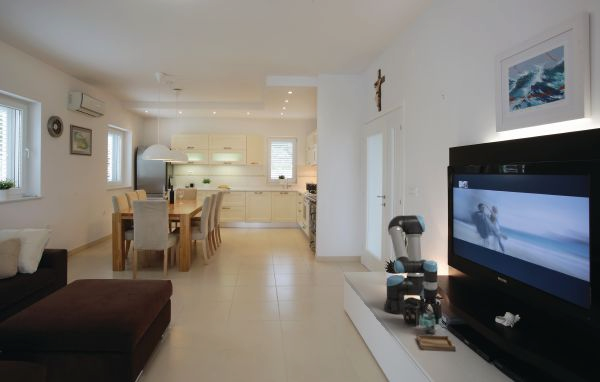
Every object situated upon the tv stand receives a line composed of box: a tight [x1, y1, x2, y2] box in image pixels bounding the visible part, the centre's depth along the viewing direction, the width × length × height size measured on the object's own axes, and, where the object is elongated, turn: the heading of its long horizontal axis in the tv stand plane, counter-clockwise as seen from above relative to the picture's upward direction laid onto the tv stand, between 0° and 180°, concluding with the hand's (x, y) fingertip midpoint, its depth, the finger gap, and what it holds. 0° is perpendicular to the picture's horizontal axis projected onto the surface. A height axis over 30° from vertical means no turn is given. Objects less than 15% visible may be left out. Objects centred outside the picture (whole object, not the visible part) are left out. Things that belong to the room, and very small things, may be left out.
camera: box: [402, 296, 422, 327], centre depth 220 cm, size 10×11×15 cm
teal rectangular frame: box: [419, 315, 443, 327], centre depth 206 cm, size 13×7×3 cm, turn 120°
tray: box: [416, 334, 456, 352], centre depth 191 cm, size 13×17×2 cm
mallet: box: [425, 310, 436, 336], centre depth 206 cm, size 5×6×12 cm
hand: (430, 326), depth 206 cm, fingers closed on teal rectangular frame, 7 cm apart
